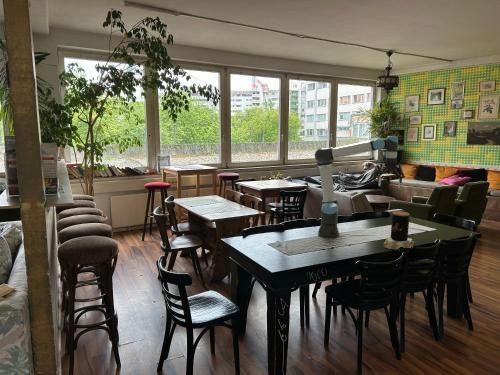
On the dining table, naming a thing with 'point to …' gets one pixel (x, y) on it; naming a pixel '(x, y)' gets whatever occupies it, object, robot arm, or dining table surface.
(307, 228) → the dining table surface
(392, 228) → the coffee jar
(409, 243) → the cream lumpy slab
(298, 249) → the dining table surface
